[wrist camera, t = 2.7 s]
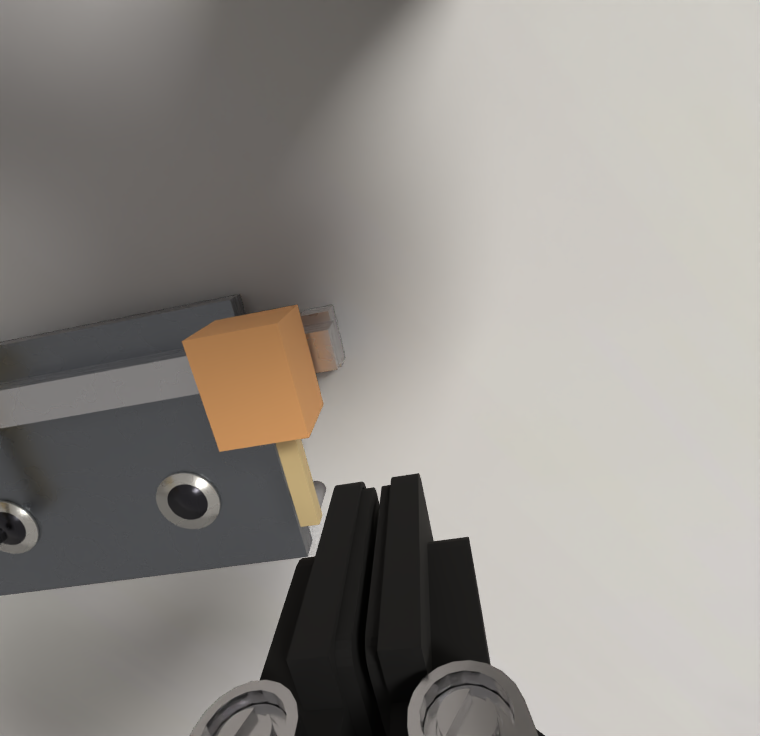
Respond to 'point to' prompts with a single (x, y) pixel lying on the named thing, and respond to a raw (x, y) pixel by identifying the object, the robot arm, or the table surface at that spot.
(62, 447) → the bolt plate
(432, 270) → the table surface
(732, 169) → the table surface
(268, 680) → the robot arm
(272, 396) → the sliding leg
